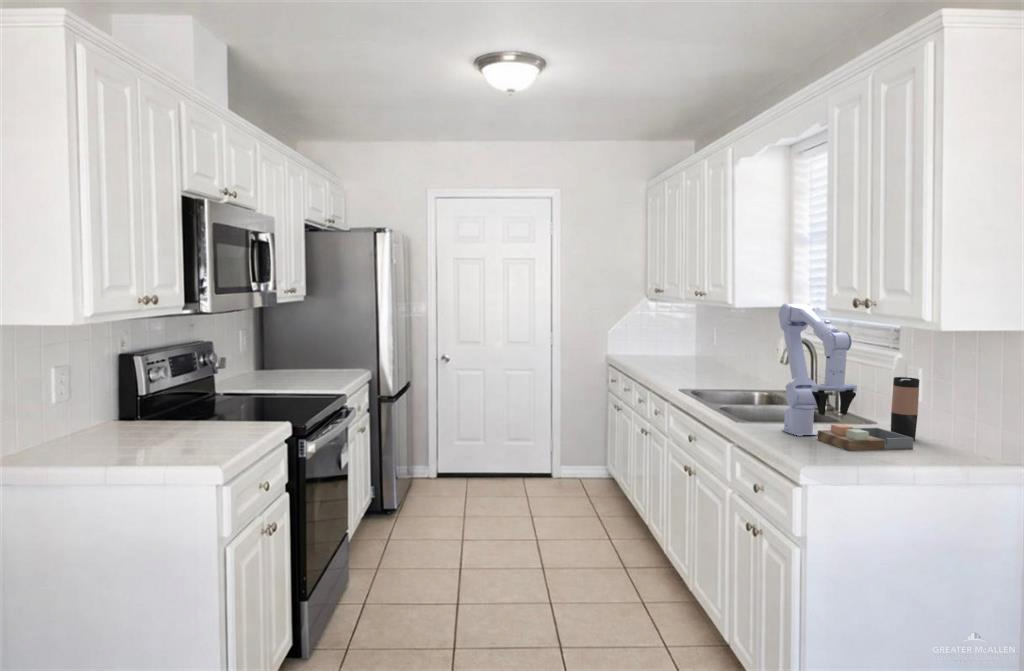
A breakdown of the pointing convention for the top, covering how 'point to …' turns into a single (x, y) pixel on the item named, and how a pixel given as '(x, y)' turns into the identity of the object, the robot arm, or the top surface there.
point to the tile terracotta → (840, 429)
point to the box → (891, 438)
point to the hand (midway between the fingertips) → (832, 414)
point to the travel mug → (905, 406)
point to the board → (851, 442)
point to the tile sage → (857, 434)
